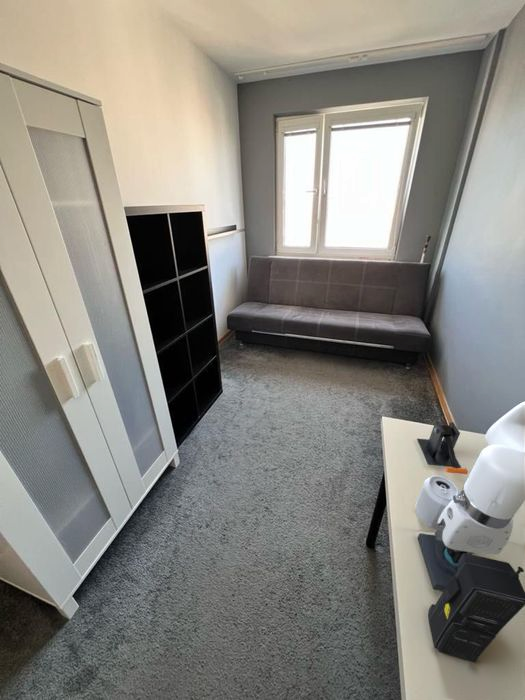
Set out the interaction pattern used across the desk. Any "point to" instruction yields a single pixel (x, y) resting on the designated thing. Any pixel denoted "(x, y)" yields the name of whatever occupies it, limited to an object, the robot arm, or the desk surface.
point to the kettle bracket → (438, 446)
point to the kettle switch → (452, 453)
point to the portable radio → (475, 606)
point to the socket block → (436, 561)
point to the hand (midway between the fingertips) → (454, 555)
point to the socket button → (449, 558)
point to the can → (434, 499)
